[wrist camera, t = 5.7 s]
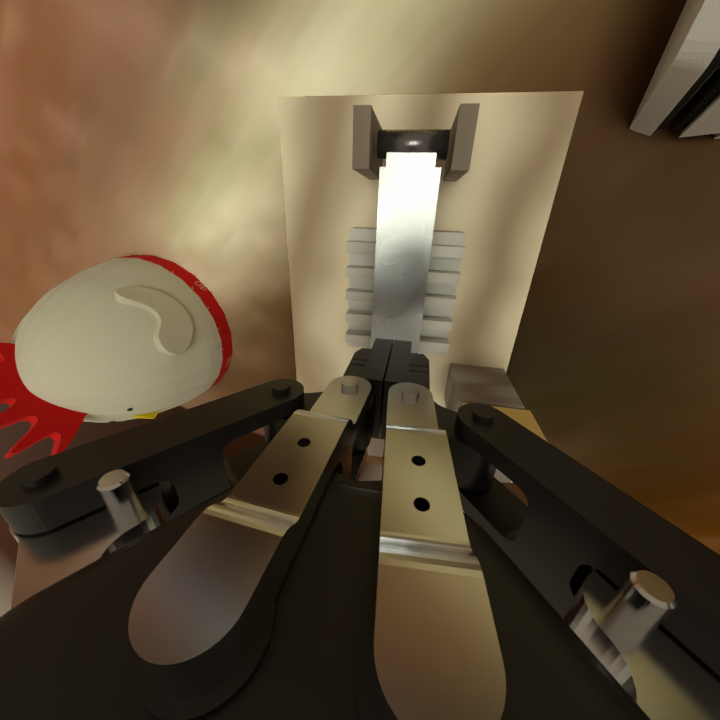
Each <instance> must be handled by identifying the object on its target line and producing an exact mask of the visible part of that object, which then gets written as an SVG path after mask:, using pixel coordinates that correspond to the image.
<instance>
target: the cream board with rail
mask: <svg viewBox="0 0 720 720" xmlns="http://www.w3.org/2000/svg"><path fill="white" fill-rule="evenodd" d="M583 92H584V91H560V92H509V93H458V94H407V95H356V96H305V97H277V101H278V116H279V130H280V144H281V159H282V173H283V187H284V202H285V216H286V231H287V245H288V259H289V274H290V288H291V302H292V317H293V331H294V345H295V360H296V374H297V381H298V382H300V383H301V384H302V385H303V387H304V393H314V392H323V391H324V390H325V389H326V387H327V386H328V385H329V383H330V382H331V381H332V380H334V379H336V378H338V377H342V376H343V375H344V373H345V371H346V369H347V367H348V365H349V363H350V361H351V359H352V357H353V355H354V353H355V352H356V351H358V350H359V349H361V348H370V345H371V326H372V307H373V288H374V268H375V249H376V230H377V211H378V192H379V173H380V167H386V159H377V133H378V130H394V129H450V139H449V147H448V153H447V158H446V160H436V164H435V167H437V168H441V175H440V183H439V191H438V199H437V207H436V215H435V223H434V230H433V238H432V246H431V254H430V262H429V270H428V278H427V286H426V294H425V302H424V310H423V318H422V326H421V334H420V342H419V349H418V354H424V355H425V356H426V357H427V358H428V359H429V374H430V391H431V393H432V395H433V400H434V401H435V402H436V403H437V404H439V405H440V406H442V407H444V408H447V409H449V410H452V411H455V412H458V409H459V408H460V407H461V404H462V403H480V404H485V405H489V406H495V407H504V408H512V409H520V410H524V409H525V408H524V406H523V404H522V402H521V400H520V398H519V396H518V395H517V393H516V391H515V389H514V387H513V385H512V383H511V382H510V380H509V378H508V376H507V374H506V371H507V368H508V364H509V360H510V357H511V353H512V349H513V346H514V342H515V339H516V335H517V331H518V328H519V324H520V320H521V317H522V313H523V310H524V306H525V302H526V299H527V295H528V291H529V288H530V284H531V281H532V277H533V273H534V270H535V266H536V262H537V259H538V255H539V252H540V248H541V244H542V241H543V237H544V233H545V230H546V226H547V223H548V219H549V215H550V212H551V208H552V204H553V201H554V197H555V194H556V190H557V186H558V183H559V179H560V176H561V172H562V168H563V165H564V161H565V157H566V154H567V150H568V147H569V143H570V139H571V136H572V132H573V128H574V125H575V121H576V118H577V114H578V110H579V107H580V103H581V99H582V96H583ZM380 438H381V429H380V434H379V438H373V437H371V441H370V444H369V446H368V455H372V456H379V457H383V451H384V439H380Z"/></svg>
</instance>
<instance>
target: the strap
mask: <svg viewBox="0 0 720 720" xmlns="http://www.w3.org/2000/svg"><path fill="white" fill-rule="evenodd" d="M449 139H450V129H394V130H378V133H377V159H386V167H380V173H379V192H378V211H377V230H376V249H375V268H374V288H373V307H372V326H371V345H370V349H372V346H373V344H374V341H375V339H376V338H382V339H393V344H394V340H403V341H412V346H411V353H418V349H419V342H420V334H421V326H422V318H423V310H424V302H425V294H426V286H427V278H428V270H429V262H430V254H431V246H432V238H433V230H434V223H435V215H436V207H437V199H438V191H439V183H440V175H441V168H437V167H435V164H436V160H446V158H447V153H448V147H449Z"/></svg>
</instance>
